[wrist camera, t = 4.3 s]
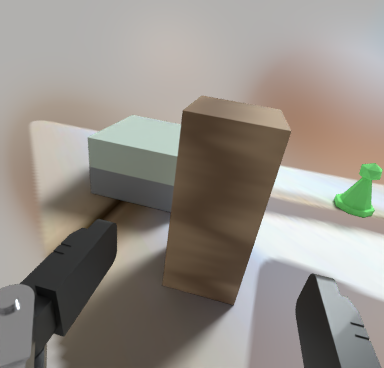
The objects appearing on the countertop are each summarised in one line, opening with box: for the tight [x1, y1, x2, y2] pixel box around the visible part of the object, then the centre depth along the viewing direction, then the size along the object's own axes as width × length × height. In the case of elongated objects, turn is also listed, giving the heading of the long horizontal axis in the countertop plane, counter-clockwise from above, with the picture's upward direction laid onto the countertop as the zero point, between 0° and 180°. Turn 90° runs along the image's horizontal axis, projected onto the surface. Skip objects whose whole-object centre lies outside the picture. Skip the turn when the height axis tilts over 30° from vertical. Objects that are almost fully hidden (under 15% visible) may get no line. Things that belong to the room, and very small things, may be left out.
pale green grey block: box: [88, 115, 181, 212], centre depth 29 cm, size 10×10×6 cm
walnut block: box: [162, 96, 291, 305], centre depth 17 cm, size 5×5×12 cm
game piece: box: [334, 163, 382, 218], centre depth 30 cm, size 4×4×6 cm
